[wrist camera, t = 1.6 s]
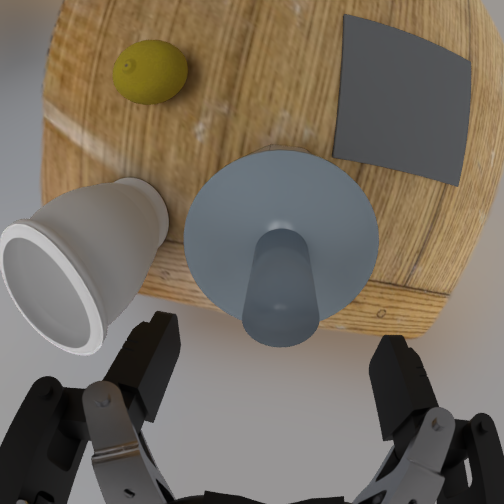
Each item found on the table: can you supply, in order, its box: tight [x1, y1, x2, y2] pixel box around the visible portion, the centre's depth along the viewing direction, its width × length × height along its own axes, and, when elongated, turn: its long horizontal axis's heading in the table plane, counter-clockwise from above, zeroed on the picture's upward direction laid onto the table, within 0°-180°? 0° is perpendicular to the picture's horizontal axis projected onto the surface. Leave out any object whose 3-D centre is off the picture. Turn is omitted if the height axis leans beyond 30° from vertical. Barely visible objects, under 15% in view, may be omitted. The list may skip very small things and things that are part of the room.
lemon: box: [113, 40, 188, 105], centre depth 17 cm, size 6×6×8 cm
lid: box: [184, 149, 379, 347], centre depth 14 cm, size 12×12×7 cm
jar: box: [0, 178, 169, 356], centre depth 20 cm, size 11×10×15 cm
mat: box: [332, 14, 471, 187], centre depth 19 cm, size 14×14×1 cm
